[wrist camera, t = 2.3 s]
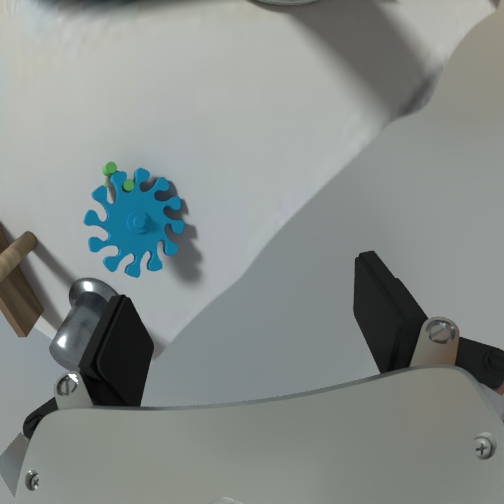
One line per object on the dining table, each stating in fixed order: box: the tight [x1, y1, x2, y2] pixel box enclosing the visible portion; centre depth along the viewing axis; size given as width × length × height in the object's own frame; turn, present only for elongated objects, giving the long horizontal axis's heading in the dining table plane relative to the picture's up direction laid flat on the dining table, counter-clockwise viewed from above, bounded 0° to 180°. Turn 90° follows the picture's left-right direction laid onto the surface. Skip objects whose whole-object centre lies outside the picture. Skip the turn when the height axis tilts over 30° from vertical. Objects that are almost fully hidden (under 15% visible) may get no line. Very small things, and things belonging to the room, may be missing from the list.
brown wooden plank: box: [0, 226, 44, 337], centre depth 28 cm, size 2×16×6 cm, turn 11°
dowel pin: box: [0, 231, 37, 282], centre depth 25 cm, size 2×2×8 cm
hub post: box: [49, 278, 118, 373], centre depth 29 cm, size 8×8×10 cm
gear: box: [83, 162, 185, 278], centre depth 26 cm, size 11×6×10 cm
